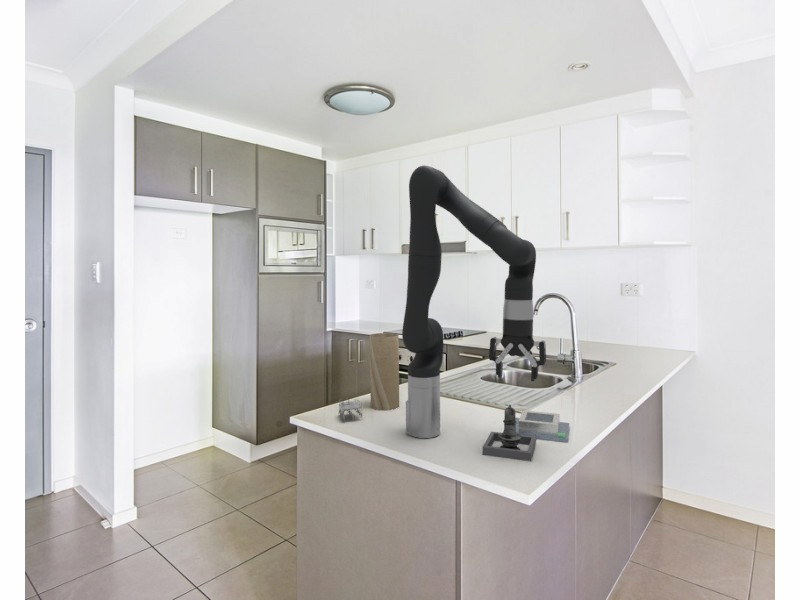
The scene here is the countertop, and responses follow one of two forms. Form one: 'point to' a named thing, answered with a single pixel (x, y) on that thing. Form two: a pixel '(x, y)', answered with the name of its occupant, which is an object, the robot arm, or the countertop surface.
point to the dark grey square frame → (509, 452)
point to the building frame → (349, 408)
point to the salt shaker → (510, 430)
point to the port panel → (542, 426)
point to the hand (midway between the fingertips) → (516, 378)
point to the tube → (384, 371)
